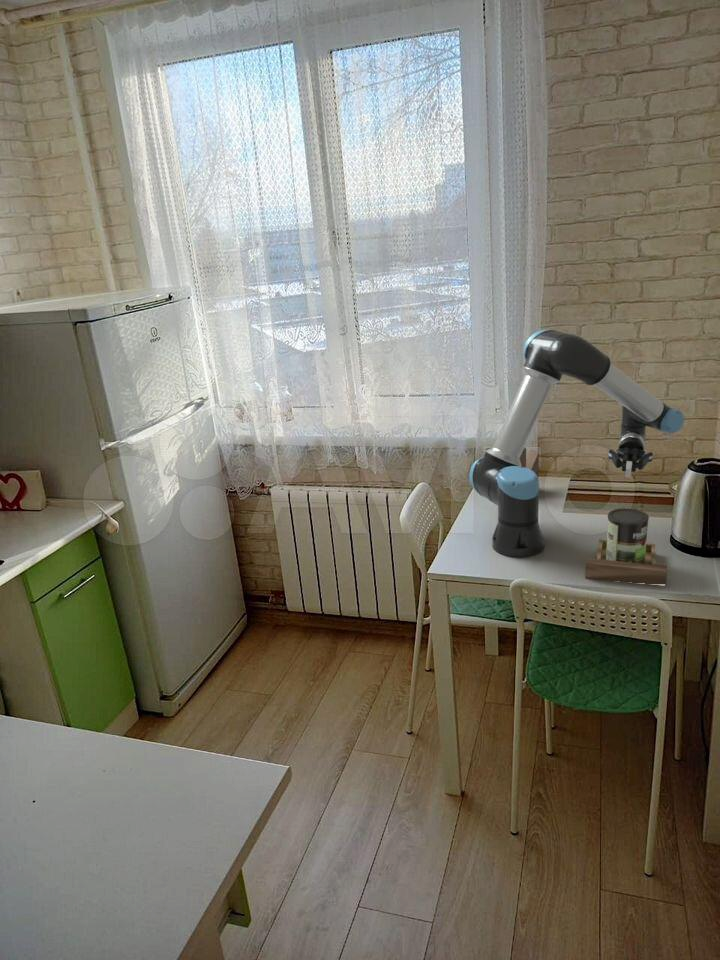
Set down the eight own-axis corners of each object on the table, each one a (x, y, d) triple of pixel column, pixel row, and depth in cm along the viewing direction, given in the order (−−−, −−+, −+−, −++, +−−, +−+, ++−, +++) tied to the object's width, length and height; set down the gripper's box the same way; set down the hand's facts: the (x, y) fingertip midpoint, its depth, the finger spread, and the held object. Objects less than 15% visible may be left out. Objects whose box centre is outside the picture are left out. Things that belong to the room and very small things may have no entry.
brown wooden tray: (654, 579, 188) (655, 569, 187) (595, 573, 193) (595, 563, 192) (654, 554, 201) (655, 544, 200) (598, 549, 206) (599, 539, 205)
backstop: (665, 588, 184) (667, 571, 182) (585, 579, 191) (585, 563, 190) (665, 582, 187) (666, 565, 185) (585, 574, 194) (586, 558, 192)
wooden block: (538, 490, 252) (539, 441, 246) (522, 499, 245) (522, 450, 239) (529, 488, 255) (530, 440, 248) (513, 497, 248) (513, 448, 241)
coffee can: (652, 562, 195) (656, 515, 190) (631, 575, 189) (634, 527, 184) (619, 550, 202) (622, 504, 197) (597, 562, 197) (599, 516, 192)
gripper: (652, 460, 223) (651, 487, 203) (608, 457, 228) (603, 483, 208) (654, 437, 221) (653, 462, 200) (610, 435, 225) (605, 459, 205)
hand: (628, 472), depth 204 cm, fingers closed
